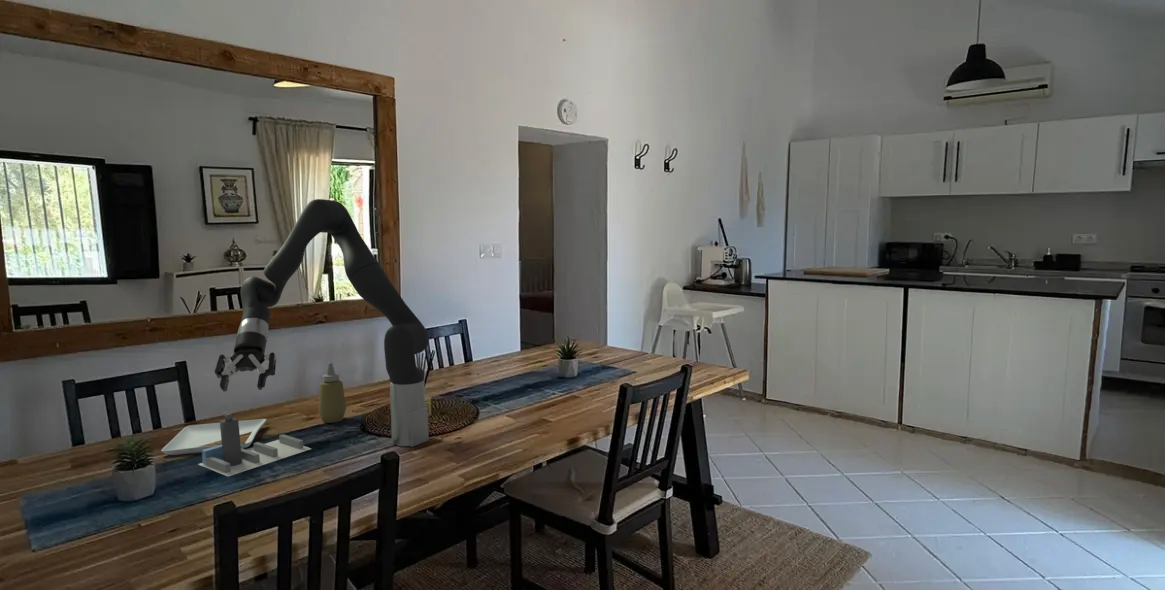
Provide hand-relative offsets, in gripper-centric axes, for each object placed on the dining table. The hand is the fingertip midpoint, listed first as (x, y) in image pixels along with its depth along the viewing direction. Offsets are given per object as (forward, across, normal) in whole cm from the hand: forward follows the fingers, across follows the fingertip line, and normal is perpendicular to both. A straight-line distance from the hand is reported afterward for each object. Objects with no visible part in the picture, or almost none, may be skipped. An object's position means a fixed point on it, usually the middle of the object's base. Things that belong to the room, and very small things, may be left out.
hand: (241, 389), depth 166 cm
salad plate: (+6, -10, +20) cm, 23 cm away
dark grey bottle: (+19, 0, +4) cm, 19 cm away
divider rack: (+16, +4, +8) cm, 19 cm away
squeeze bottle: (-5, +18, +30) cm, 35 cm away
